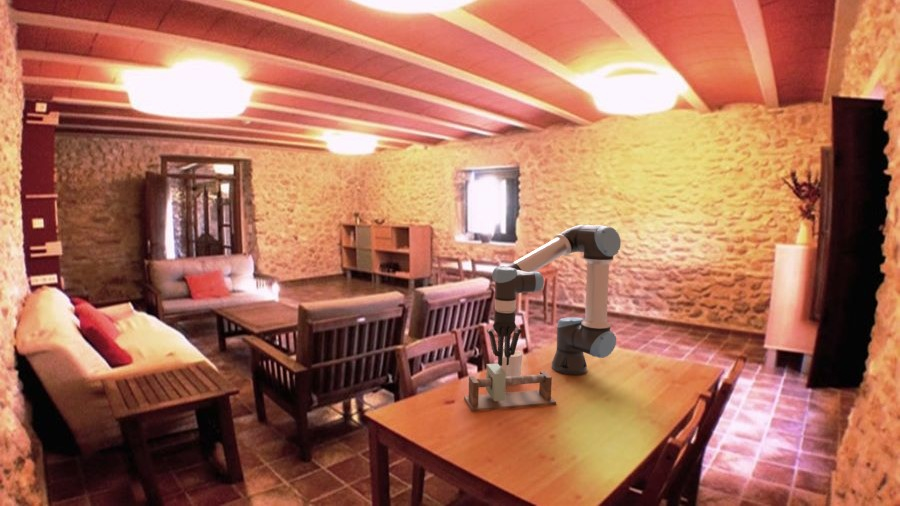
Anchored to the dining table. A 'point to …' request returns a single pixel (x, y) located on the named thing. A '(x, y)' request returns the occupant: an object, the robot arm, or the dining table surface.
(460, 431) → the dining table surface
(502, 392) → the collar
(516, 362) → the candle holder
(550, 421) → the dining table surface
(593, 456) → the dining table surface
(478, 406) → the dowel stand
